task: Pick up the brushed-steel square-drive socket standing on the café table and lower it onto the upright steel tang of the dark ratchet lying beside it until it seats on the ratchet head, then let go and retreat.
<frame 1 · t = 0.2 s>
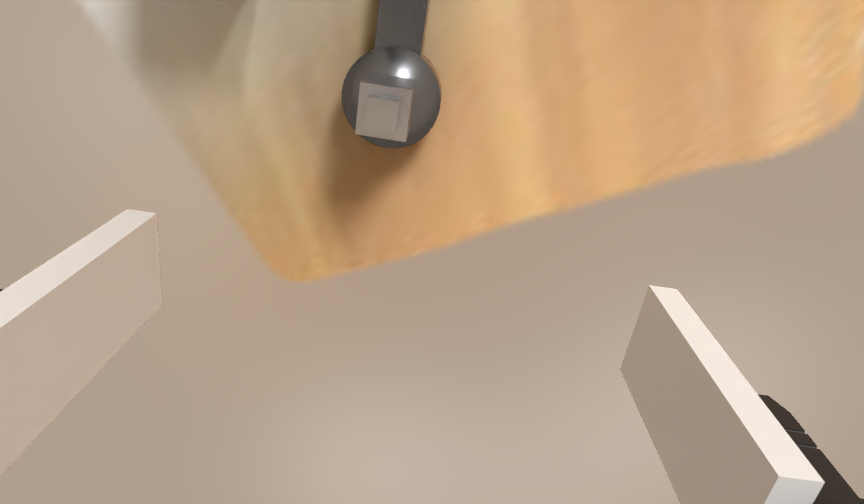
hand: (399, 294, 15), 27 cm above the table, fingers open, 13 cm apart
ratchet: (395, 92, 40), on the table
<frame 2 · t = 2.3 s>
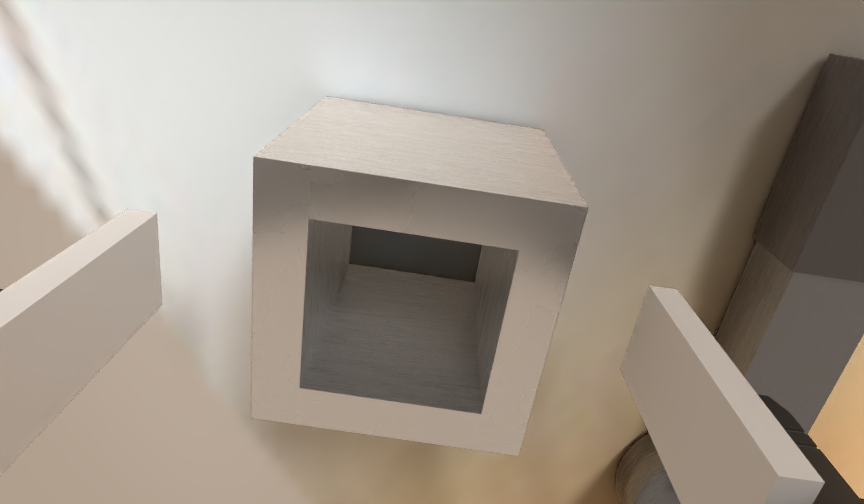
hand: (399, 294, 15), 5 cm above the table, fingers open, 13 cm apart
socket: (420, 214, 20), on the table
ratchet: (691, 477, 24), on the table
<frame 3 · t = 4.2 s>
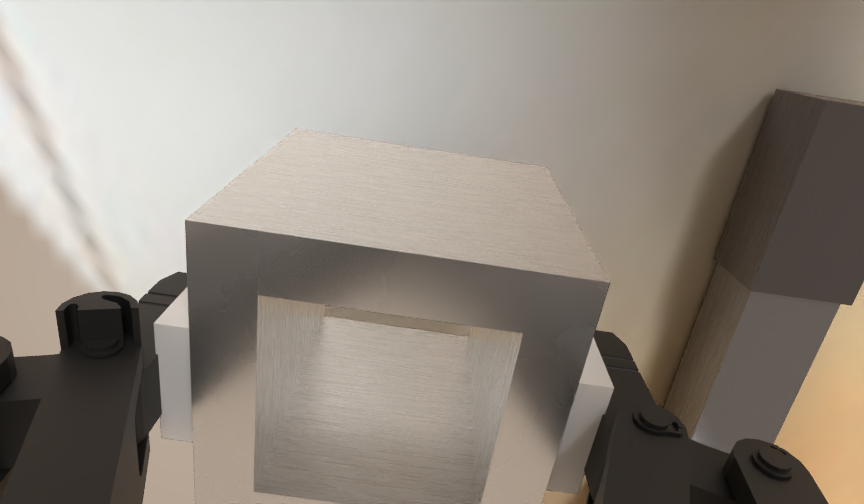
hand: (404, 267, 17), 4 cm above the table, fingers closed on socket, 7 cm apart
socket: (405, 261, 17), point 3 cm above the table, touching gripper
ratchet: (667, 492, 25), on the table
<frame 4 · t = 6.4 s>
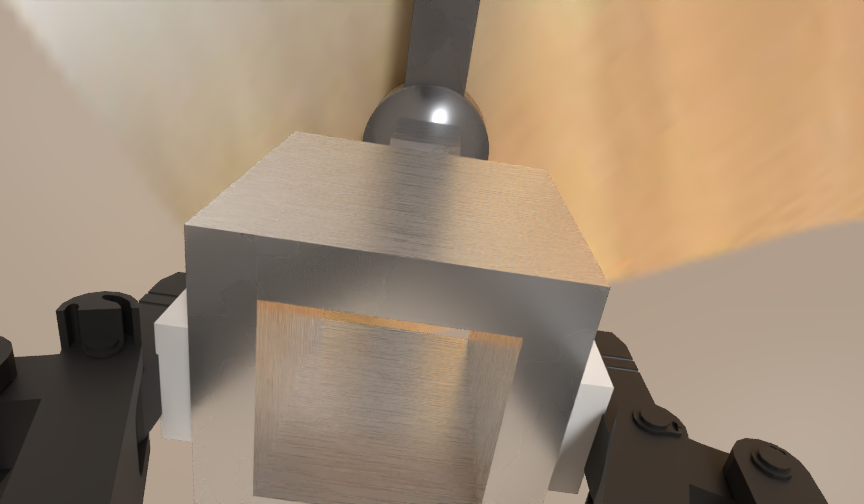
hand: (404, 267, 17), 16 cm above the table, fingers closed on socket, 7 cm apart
socket: (405, 264, 17), point 16 cm above the table, touching gripper
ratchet: (427, 137, 31), on the table
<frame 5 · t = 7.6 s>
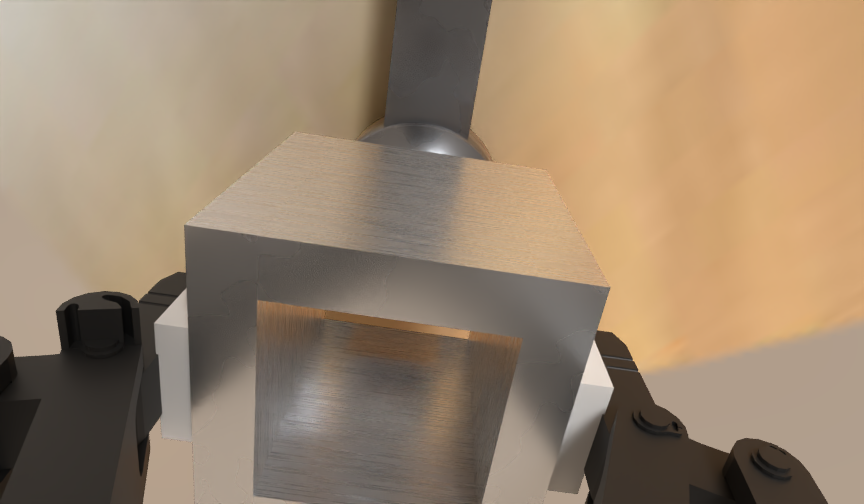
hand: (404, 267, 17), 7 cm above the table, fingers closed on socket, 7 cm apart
socket: (405, 264, 17), point 7 cm above the table, touching gripper
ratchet: (418, 188, 23), on the table
when the fingers open (4 cm above the table, at t = 8.5 s): socket stays where it is, resting on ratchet.
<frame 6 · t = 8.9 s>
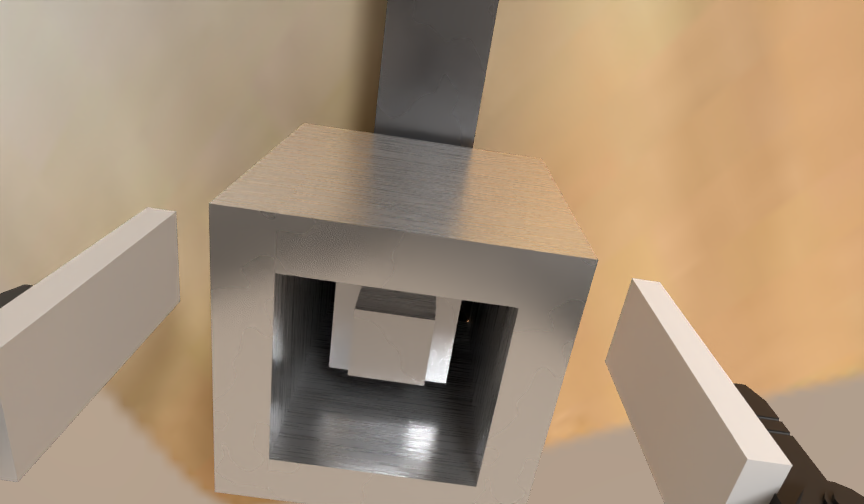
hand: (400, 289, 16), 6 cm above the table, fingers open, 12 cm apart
socket: (408, 249, 18), point 3 cm above the table, touching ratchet
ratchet: (413, 216, 21), on the table
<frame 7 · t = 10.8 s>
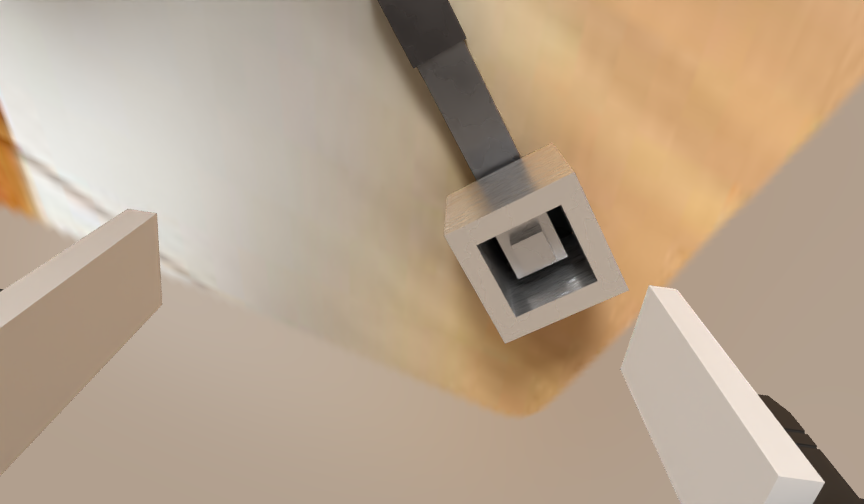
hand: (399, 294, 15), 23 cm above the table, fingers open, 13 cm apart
socket: (523, 218, 35), point 3 cm above the table, touching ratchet
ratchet: (518, 204, 38), on the table
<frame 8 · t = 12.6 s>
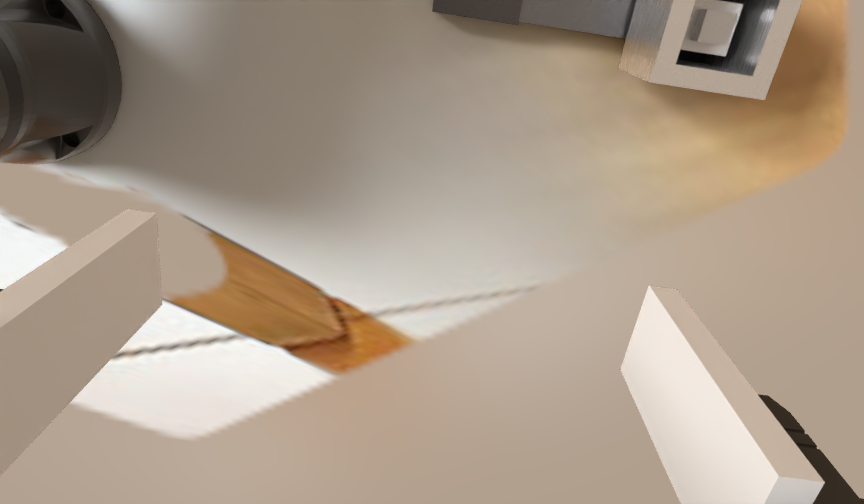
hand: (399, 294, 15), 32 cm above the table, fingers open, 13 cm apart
socket: (682, 23, 39), point 3 cm above the table, touching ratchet
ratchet: (667, 22, 41), on the table
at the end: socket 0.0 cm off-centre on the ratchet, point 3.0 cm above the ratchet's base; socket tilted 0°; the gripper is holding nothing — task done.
